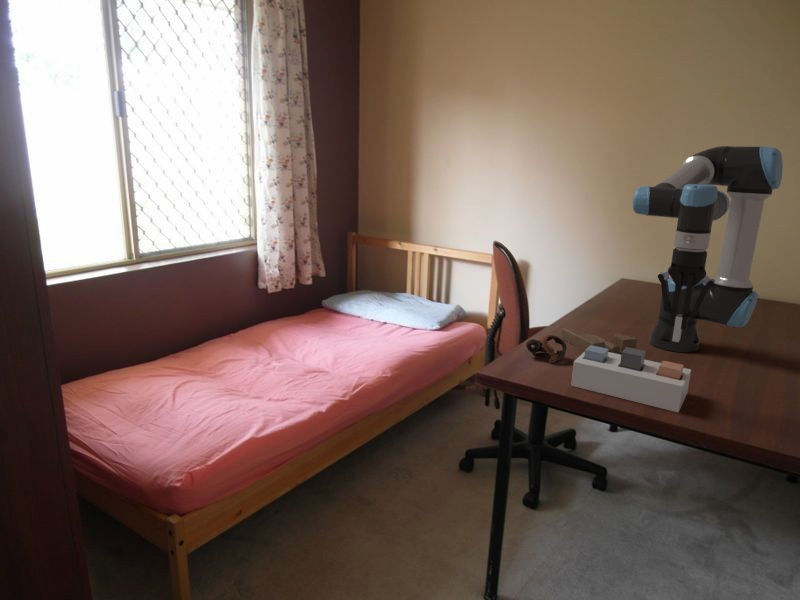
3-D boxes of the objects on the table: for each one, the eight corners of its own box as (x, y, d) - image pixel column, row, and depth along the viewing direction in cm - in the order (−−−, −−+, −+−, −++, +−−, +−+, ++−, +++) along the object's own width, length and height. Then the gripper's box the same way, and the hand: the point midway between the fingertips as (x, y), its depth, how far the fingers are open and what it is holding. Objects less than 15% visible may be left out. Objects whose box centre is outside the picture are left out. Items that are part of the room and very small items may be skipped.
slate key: (606, 365, 159) (608, 348, 158) (601, 371, 155) (603, 353, 154) (588, 361, 162) (590, 345, 160) (583, 366, 158) (585, 349, 156)
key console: (687, 393, 153) (691, 369, 151) (678, 412, 141) (682, 386, 140) (586, 370, 167) (588, 347, 165) (570, 385, 156) (573, 361, 154)
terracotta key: (680, 382, 149) (683, 364, 147) (677, 388, 145) (680, 370, 143) (660, 378, 151) (663, 360, 150) (656, 384, 147) (659, 366, 146)
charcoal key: (643, 368, 153) (645, 350, 152) (639, 374, 149) (641, 356, 148) (623, 364, 156) (626, 346, 155) (619, 369, 152) (621, 351, 151)
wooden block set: (595, 341, 177) (561, 324, 193) (593, 358, 178) (560, 340, 195) (640, 337, 182) (603, 320, 199) (637, 353, 184) (601, 336, 200)
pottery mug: (553, 352, 182) (566, 335, 177) (559, 375, 175) (572, 357, 170) (519, 344, 180) (530, 326, 175) (523, 366, 173) (535, 348, 168)
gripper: (658, 247, 139) (645, 338, 146) (718, 254, 132) (702, 349, 139) (664, 243, 145) (651, 331, 152) (722, 249, 138) (706, 341, 145)
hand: (676, 340), depth 145 cm, fingers closed
